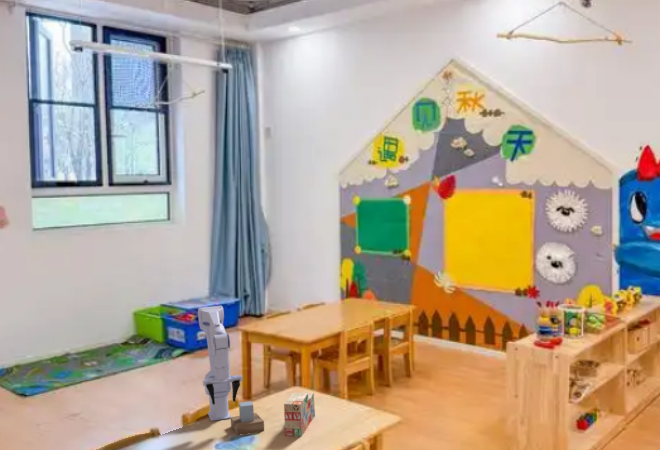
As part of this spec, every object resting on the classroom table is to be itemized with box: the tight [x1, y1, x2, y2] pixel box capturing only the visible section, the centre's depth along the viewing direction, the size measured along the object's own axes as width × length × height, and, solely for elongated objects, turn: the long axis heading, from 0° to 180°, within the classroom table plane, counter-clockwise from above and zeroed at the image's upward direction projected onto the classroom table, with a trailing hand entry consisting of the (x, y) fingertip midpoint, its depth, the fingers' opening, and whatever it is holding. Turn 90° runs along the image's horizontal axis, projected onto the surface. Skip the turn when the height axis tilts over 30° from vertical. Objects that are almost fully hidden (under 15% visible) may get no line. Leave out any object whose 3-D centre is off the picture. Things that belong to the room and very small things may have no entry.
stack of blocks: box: [283, 392, 316, 438], centre depth 253 cm, size 21×6×12 cm, turn 168°
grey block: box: [238, 401, 255, 422], centre depth 252 cm, size 5×5×6 cm
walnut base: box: [230, 412, 265, 436], centre depth 253 cm, size 10×10×4 cm
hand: (223, 402), depth 252 cm, fingers open, 7 cm apart
